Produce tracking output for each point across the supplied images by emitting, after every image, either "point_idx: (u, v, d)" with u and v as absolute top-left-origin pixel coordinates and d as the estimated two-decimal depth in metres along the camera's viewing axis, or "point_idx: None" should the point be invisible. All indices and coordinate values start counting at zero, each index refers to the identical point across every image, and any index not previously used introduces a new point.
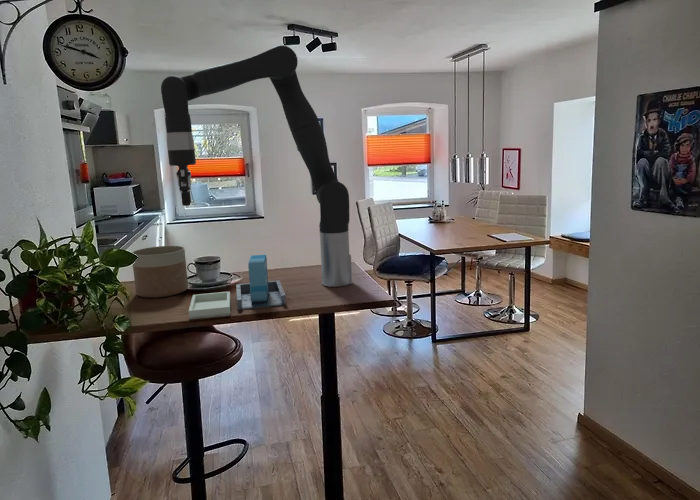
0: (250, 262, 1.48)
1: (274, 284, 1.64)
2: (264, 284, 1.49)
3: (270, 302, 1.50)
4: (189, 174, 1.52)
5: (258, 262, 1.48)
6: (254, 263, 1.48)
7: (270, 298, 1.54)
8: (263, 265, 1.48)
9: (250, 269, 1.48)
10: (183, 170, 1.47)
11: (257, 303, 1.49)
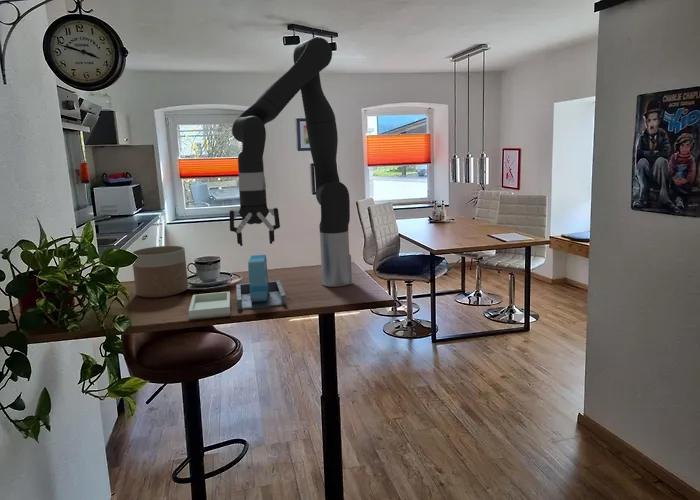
0: (250, 262, 1.48)
1: (274, 284, 1.64)
2: (264, 284, 1.49)
3: (270, 302, 1.50)
4: None
5: (258, 262, 1.48)
6: (254, 263, 1.48)
7: (270, 298, 1.54)
8: (263, 265, 1.48)
9: (250, 269, 1.48)
10: None
11: (257, 303, 1.49)
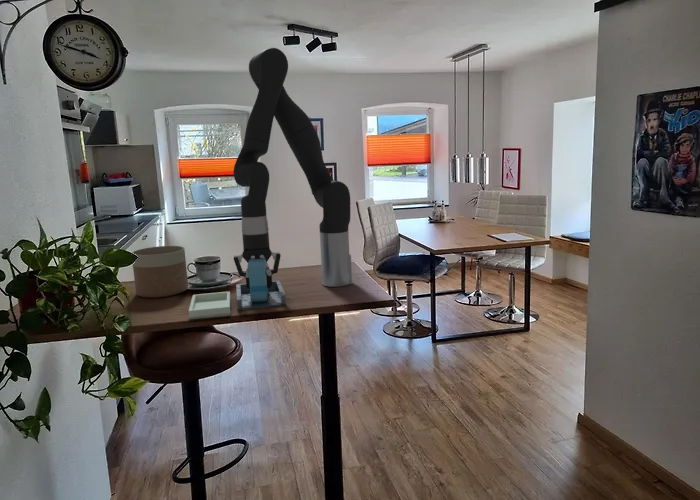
0: (250, 262, 1.48)
1: (274, 284, 1.64)
2: (264, 284, 1.49)
3: (270, 302, 1.50)
4: None
5: (258, 262, 1.48)
6: (254, 263, 1.48)
7: (270, 298, 1.54)
8: (263, 265, 1.48)
9: (250, 269, 1.48)
10: (279, 254, 1.55)
11: (257, 303, 1.49)
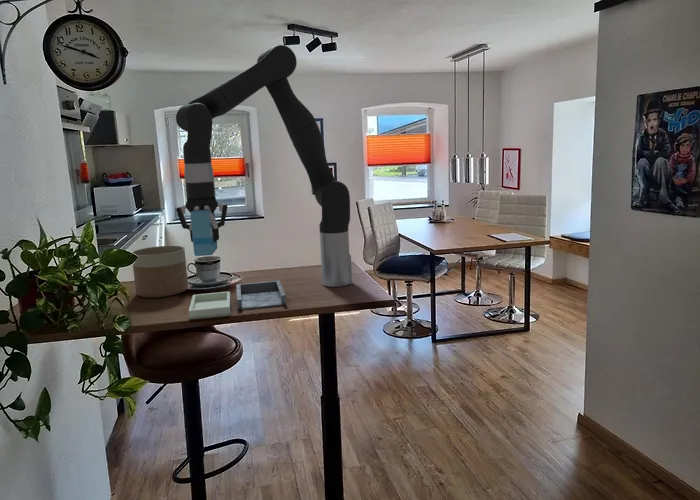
0: (192, 212, 1.38)
1: (274, 284, 1.64)
2: (208, 236, 1.38)
3: (270, 302, 1.50)
4: None
5: (201, 212, 1.38)
6: (197, 213, 1.37)
7: (270, 298, 1.54)
8: (206, 215, 1.37)
9: (192, 219, 1.37)
10: None
11: (257, 303, 1.49)
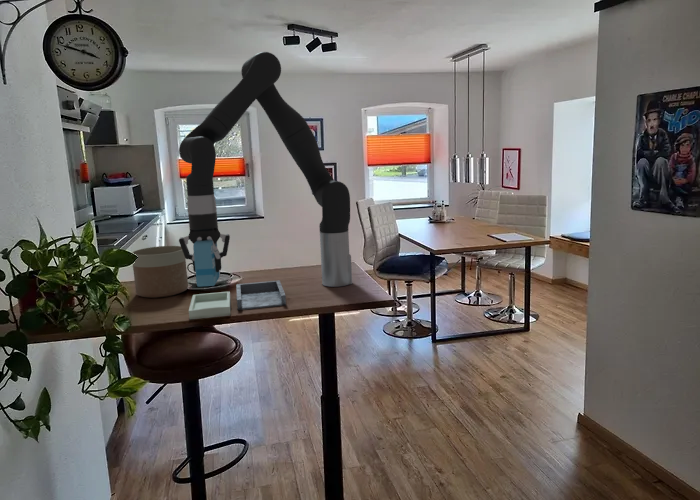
0: (195, 244, 1.39)
1: (274, 284, 1.64)
2: (210, 267, 1.40)
3: (270, 302, 1.50)
4: None
5: (204, 244, 1.39)
6: (199, 245, 1.39)
7: (270, 298, 1.54)
8: (209, 247, 1.39)
9: (195, 251, 1.39)
10: (229, 236, 1.46)
11: (257, 303, 1.49)
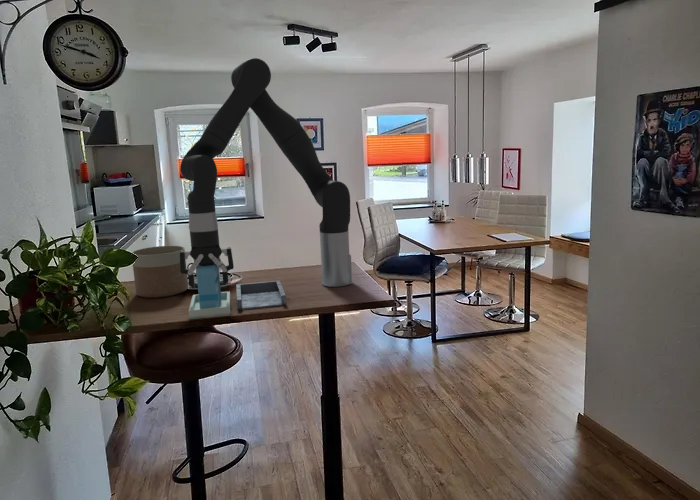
0: (199, 270, 1.41)
1: (274, 284, 1.64)
2: (214, 293, 1.41)
3: (270, 302, 1.50)
4: None
5: (207, 269, 1.41)
6: (203, 271, 1.40)
7: (270, 298, 1.54)
8: (212, 273, 1.40)
9: (198, 277, 1.40)
10: (230, 248, 1.46)
11: (257, 303, 1.49)
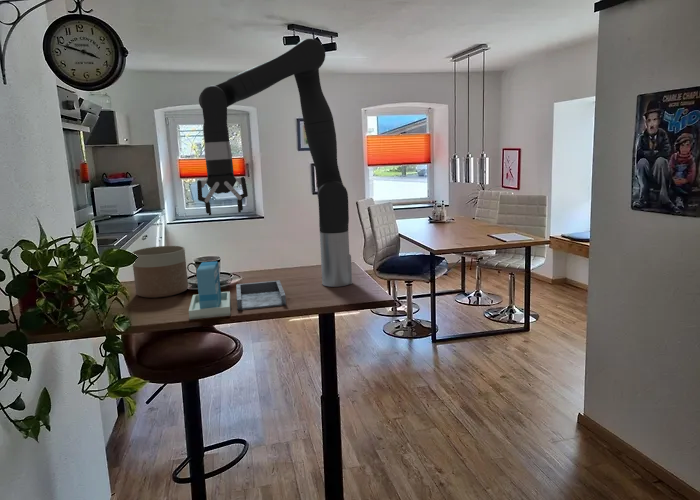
0: (199, 270, 1.41)
1: (274, 284, 1.64)
2: (214, 293, 1.41)
3: (270, 302, 1.50)
4: None
5: (207, 269, 1.41)
6: (203, 271, 1.40)
7: (270, 298, 1.54)
8: (212, 273, 1.40)
9: (198, 277, 1.40)
10: None
11: (257, 303, 1.49)
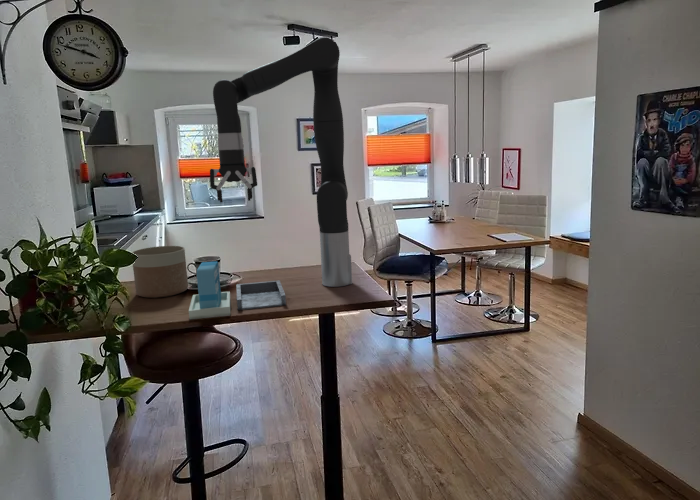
0: (199, 270, 1.41)
1: (274, 284, 1.64)
2: (214, 293, 1.41)
3: (270, 302, 1.50)
4: None
5: (207, 269, 1.41)
6: (203, 271, 1.40)
7: (270, 298, 1.54)
8: (212, 273, 1.40)
9: (198, 277, 1.40)
10: None
11: (257, 303, 1.49)
